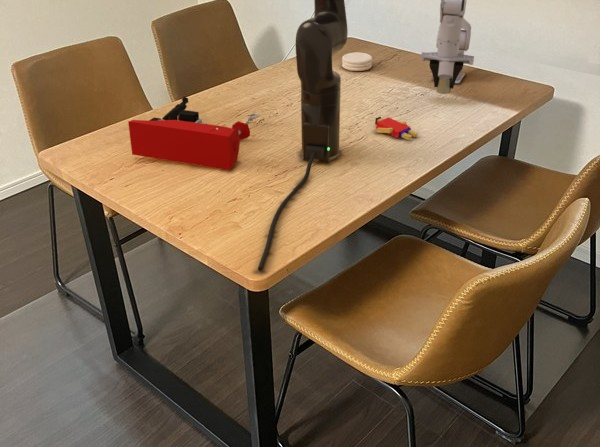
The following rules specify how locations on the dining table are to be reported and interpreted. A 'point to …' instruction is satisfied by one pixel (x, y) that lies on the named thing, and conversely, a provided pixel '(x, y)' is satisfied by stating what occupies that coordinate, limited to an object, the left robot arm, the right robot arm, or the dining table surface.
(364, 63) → the white ridged disc
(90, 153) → the dining table surface
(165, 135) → the electric hoist
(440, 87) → the canister
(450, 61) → the right robot arm
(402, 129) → the toy figure
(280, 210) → the left robot arm
